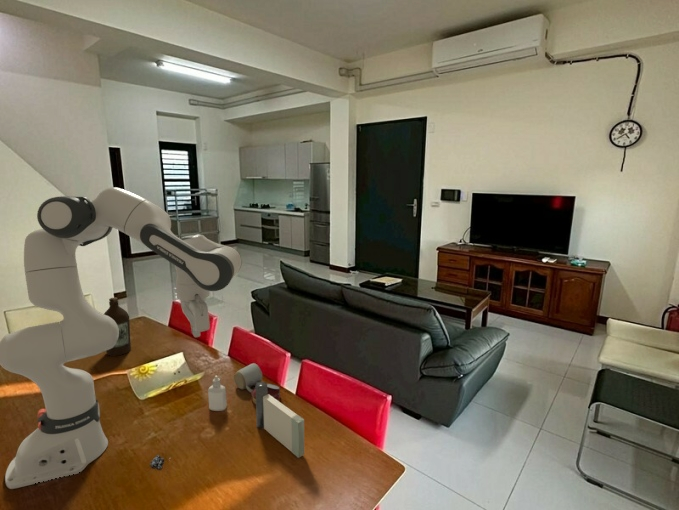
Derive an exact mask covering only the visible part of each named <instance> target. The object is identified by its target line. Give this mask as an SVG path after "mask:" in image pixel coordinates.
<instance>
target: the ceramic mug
mask: <svg viewBox="0 0 679 510" xmlns="http://www.w3.org/2000/svg"><path fill="white" fill-rule="evenodd" d="M233 378H234V383H235V385H236V386H237V388H238V389H240V390H247V391H248V392H249V393H251V394H252V390H253V389H252V388H251V387H253V386H255V385H256V384H257V383H253V382H252V381H255V382H258V383H259V382H263V372H262V370H261V368H260V366H259V365H258V364H256V363H254V362H253V363H250V364H249V365H246V366H245V367H243V368H240V369H239V370H237V371H236V372H235V373H234V376H233Z"/></svg>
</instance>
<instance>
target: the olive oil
mask: <svg viewBox="0 0 679 510" xmlns="http://www.w3.org/2000/svg"><path fill="white" fill-rule="evenodd" d="M108 300H109V301H108V303H109V308H108V309H107V310H106V311H105V312H104V313H103V314H104V315H107V316H109V317H111V318H112V319H113V320H114V321H115V322H116V324H117V326H118V329H119V337H118V340H117V342H116V344H115V345H114V347H113V348H111V349H109V350H107V351H106V355H107V356H109V355H110V356H109V357H118V355H119V356H122V354H123V355H126V354H128V353H130V351H131V350H132V346H131V345H132V343H131V342H132V341H131V325H130V324H131V323H130V321H131V320H130V315H129V313H128V312H127V310H125V309H123V308H122V306H121V307H120V305H119V299H118V297H109V298H108ZM127 352H128V353H127ZM125 353H126V354H125Z"/></svg>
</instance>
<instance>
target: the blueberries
mask: <svg viewBox="0 0 679 510" xmlns="http://www.w3.org/2000/svg"><path fill="white" fill-rule="evenodd" d="M170 459H171V456H169V459H168V460H170ZM164 462H165V458H163V457H162V456H161V455H160V454H157V455H156V456H155V457H154V458H153V459H152V460H151V462H150V467H152V468H153V469H155V470H161V469H162V468H164V464H165V463H164Z"/></svg>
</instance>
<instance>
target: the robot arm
mask: <svg viewBox="0 0 679 510" xmlns="http://www.w3.org/2000/svg"><path fill="white" fill-rule="evenodd" d="M36 216H37V217H36V218H37V221H38V224H39V226H40V227H41V229H37V230H34V231H31V232H30V233H29V234H28V235H27V236H26V237H25V238H24V247H23V267H24V274H25V281H26V289H27V295H28V297H27V298H28V300H29V301H30V303H31V305H34V306H35V307H37V308H41V309H44V310H47V311H53V312H57V313H60V314H61V315H62V317H63V318H62V320H60V321H55V322H50V323H43V324H39V325H34V326H33V325H32V326H29V327H26V328H22V329H19V330H16V331H13V332H10V333H8V334H5V335H4V336H3V337H2V338H1V340H0V366H1V367H2V368H3V369H4V370H6V371H8V372H10V373H13V374H17V375H21V376H23V377H25V378H27V379H29V380H30V381H31V382H33V383H34V384H35V385H36V386H37V387H38V389H39V390H40V393H41V395H42V398H43V403H44V407H45V408H41V409H39V410H38V411H37V415H36V418H37V426H38V427H37V428H36V429H35V430H34V431H33V432H31V433H30V434H29V435H27V436H26V437H25V438H24V439H23V440H22V442H21V443H20V445H19V446H18V449H17V452H16V455H15V457H14V458H13V459H12V460H11V461H10V462H9V465H8V466H7V468H6V471H5V475H4V476H5V477H4V481H5V486H6V487H7V488H8V489H10V490H14V489H19V488H22V487H27V486H31V485H35V483H36V484H39V483H38V482H40V483H44V482H49V481H51V479H53V480H56V479H55V478H57V479H60V478H59V477H61V478H64V477H63V476H65V477H69V475H70V476H74V475H77V474H80V473H81V472H83V470H85V468H86V467H88V465H89V464H90V463H92V462H93V461H95V460H97V459H98V458H99V457H100V456H101V455H102V454H103V453H104V452H105V451H106V449H107V447H108V445H109V440H108V438H107V437H106V435H105V433H104V430H103V428H102V424H101V420H100V419H101V418H100V417H101V411H100V404H99V402H98V398H97V397H96V393H95V383H94V378H93V376H92V374H90V373H89V372H88V371H85V370H83V369H79V368H72V367H67V366H65V365H64V364H65V363H68V362H69V363H70V362H72V361H76V360H77V361H78V360H81V359H85V358H89V357H90V358H91V357H93V356H97V355H100V354H101V353H105V352H107V350H109V349H111V348H113V347H114V345H115V344H116V342H117V340H118V337H119V329H118V326H117V324H116V322H115V321H114V320H113V319H112V318H111V317H109V316H107V315H104V313H102V312H100V311H98V310H97V309H96V308H94V307H93V306H92V305H91V304H90V303H89V301H88V300H87V299H86V297H85V294H84V292H83V290H82V285H81V282H80V280H81V279H80V276H79V271H78V264H77V257H76V251H77V249H78V247H79V246H80V247H86V246H88V245H91V244H93V243H95V242H98V241H100V240H102V239H104V238H106V237H107V236H108V235H110V233H111V232H112V230H113V229H115V230H118V231H119V232H121V233H124V234H125V235H127V236H129V237H131V238H132V239H134V240H136V241H138V242H140V243H141V244H143V245H144V246H146V248H148V249H150V250H151V251H153V252H154V253H155V254H157V255H158V256H160V257H161V258H163V259H164V260H166V261H167V262H169V263H171V264H172V265H174V269H175V273H176V279H175V288H176V298H177V300H179V302H180V307H181V310H182V313H183V314H184V315H185V317H186V318H187V320H188V322H189V323H190V328H191V334H192V335H193V337H194V338H199V337H201V332H206V331H209V330H210V326H211V325H210V317H209V307H208V304H207V303H206V298H209V296H210V294H211V293H210V292H218V291H221V290H223V289H225V288H226V287H227V286H228V285H229V284H230V283H231V281H232V279H233V278H234V277H235V276H236V274H237V273H238V272H239V271H240V269H241V268H242V263H243V260H242V259H243V258H242V255H241V254H240V252H239V251H238V250H237V249H236V248H234V247H233V246H229V245H226V244H225V245H224V244H222V243H221V244H220V243H217V242H216V241H212V240H211V239H208V238H207V237H206V236H205V235H203V234H199V233H197V234H190V235H185V236H183V237H180V238H179V237H178V236H176V235H175V234H174V233H173V231H172V230H171V228H172V220H171V217H170V214H169V213H167V212H166V211H165V210H164V209H163V208H162V207H160V206H159V205H157V204H155V203H153V202H152V201H150V200H149V199H146V198H145V197H143V196H141V195H138V194H136V193H133V192H131V191H129V190H126V189H123V188H120V187H116V186H115V187H114V186H112V187H107V188H105V189H103V190H102V191H100V193H99V194H98V195H97V197H95V198H94V199H89V198H88V197H86V196H72V195H71V196H67V195H65V196H64V195H63V196H55V197H51V198H48V199H46V200H44V201H43V202H42V203H41V204H40V205H39V207H38V210H37V214H36ZM79 472H80V473H79ZM73 474H74V475H73ZM48 480H49V481H48ZM43 481H44V482H43Z"/></svg>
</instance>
